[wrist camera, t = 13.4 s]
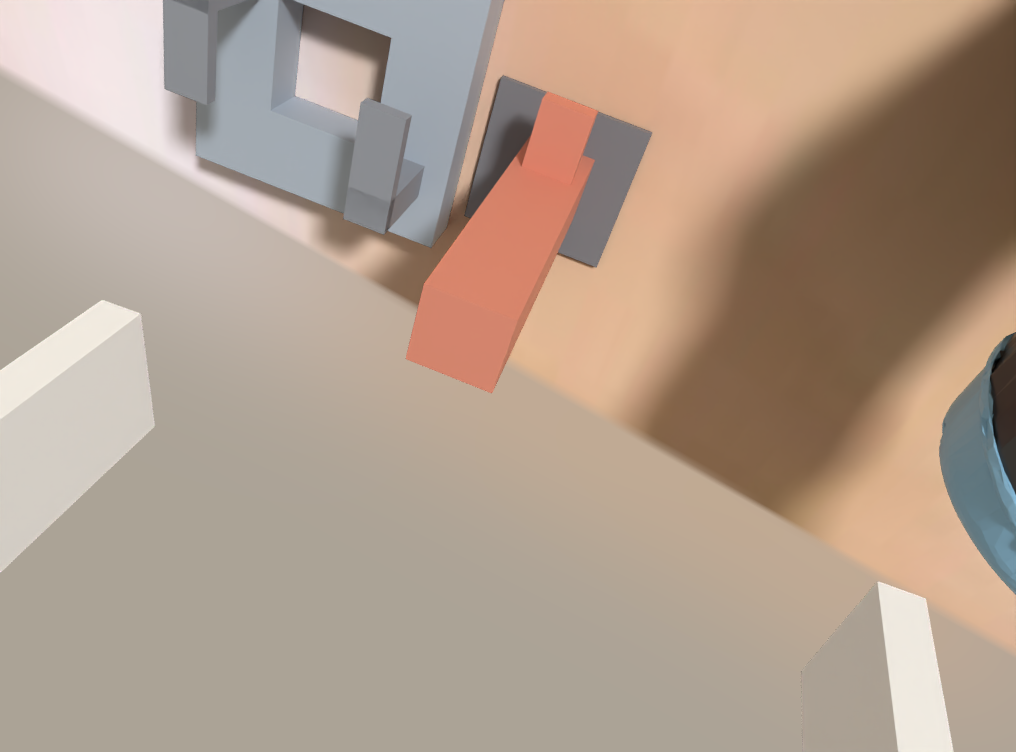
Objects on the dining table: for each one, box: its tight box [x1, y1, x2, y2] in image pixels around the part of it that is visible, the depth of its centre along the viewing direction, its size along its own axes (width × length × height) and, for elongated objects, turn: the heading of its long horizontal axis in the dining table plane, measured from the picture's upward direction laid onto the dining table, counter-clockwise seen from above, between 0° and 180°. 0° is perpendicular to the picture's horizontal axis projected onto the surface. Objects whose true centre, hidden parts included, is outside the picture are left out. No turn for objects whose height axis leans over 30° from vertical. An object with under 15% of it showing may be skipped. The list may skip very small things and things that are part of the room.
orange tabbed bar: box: [406, 92, 598, 393], centre depth 38 cm, size 12×4×18 cm, turn 164°
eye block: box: [163, 0, 504, 248], centre depth 42 cm, size 16×16×8 cm
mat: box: [464, 75, 652, 267], centre depth 45 cm, size 9×9×1 cm
